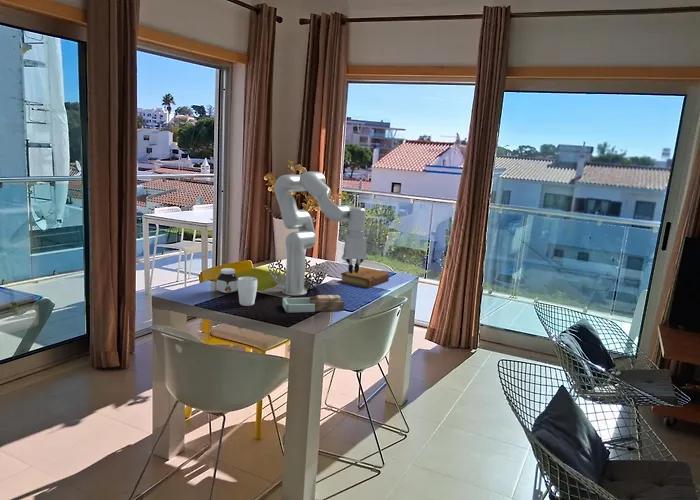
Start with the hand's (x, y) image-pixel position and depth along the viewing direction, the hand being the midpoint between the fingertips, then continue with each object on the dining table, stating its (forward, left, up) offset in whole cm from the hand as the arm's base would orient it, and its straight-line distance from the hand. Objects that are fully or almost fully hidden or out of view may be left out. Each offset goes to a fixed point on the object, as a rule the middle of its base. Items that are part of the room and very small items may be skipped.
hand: (353, 272), depth 252 cm
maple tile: (-8, 0, -14) cm, 16 cm away
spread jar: (-54, +30, -17) cm, 64 cm away
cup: (-48, +9, -17) cm, 52 cm away
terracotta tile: (-14, 0, -14) cm, 20 cm away
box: (-25, 0, -17) cm, 31 cm away
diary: (+23, +48, -18) cm, 56 cm away
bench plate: (-12, 0, -17) cm, 21 cm away
